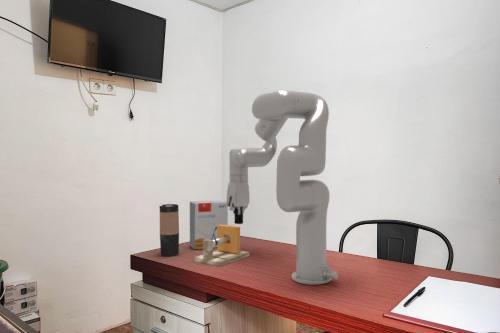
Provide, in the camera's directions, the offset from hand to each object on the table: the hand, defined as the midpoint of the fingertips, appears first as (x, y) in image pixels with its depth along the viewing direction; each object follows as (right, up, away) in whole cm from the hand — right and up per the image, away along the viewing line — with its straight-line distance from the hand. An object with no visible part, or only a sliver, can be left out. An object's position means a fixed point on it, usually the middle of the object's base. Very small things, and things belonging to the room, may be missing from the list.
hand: (238, 223), depth 159 cm
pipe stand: (-6, -12, -9) cm, 16 cm away
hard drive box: (-14, -12, +11) cm, 21 cm away
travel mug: (-28, -13, -1) cm, 31 cm away
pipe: (-6, -7, -9) cm, 13 cm away
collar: (-4, -10, -6) cm, 12 cm away
